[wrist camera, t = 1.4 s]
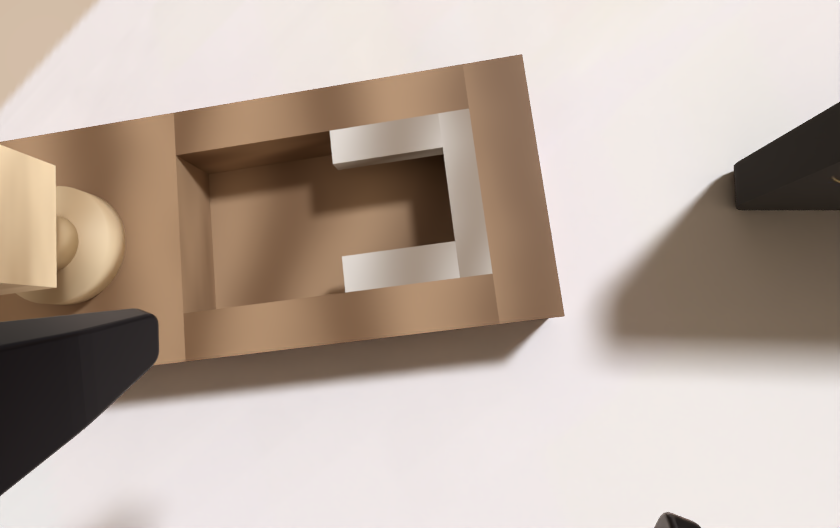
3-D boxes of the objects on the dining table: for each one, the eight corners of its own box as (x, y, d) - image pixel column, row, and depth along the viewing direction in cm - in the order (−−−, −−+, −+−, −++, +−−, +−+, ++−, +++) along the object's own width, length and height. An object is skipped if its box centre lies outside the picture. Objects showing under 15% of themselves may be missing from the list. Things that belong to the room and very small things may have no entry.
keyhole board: (52, 376, 23) (-12, 385, 20) (50, 165, 24) (-9, 143, 21) (550, 317, 21) (564, 315, 18) (514, 91, 22) (521, 54, 19)
